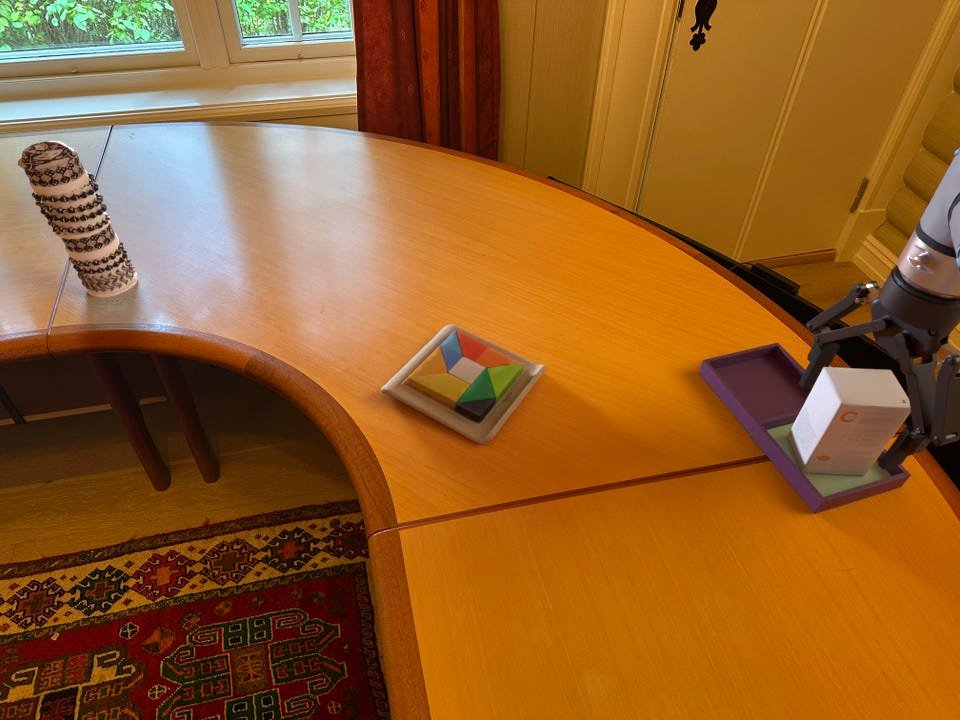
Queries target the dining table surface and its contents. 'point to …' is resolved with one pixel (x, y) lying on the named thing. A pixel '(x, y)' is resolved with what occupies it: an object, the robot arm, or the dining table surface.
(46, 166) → the decorative candle
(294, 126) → the dining table surface
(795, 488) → the purple divided tray
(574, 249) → the dining table surface
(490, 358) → the wooden puzzle
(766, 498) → the dining table surface
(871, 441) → the small box
